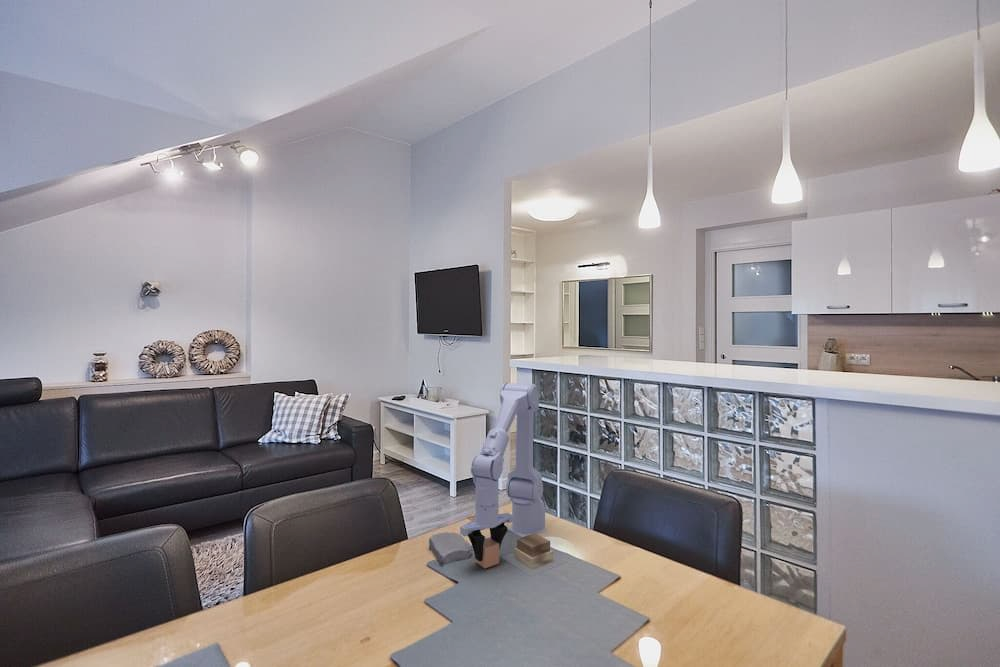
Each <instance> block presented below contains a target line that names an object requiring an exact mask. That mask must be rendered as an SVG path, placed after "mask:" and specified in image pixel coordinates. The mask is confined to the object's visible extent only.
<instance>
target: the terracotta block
mask: <svg viewBox="0 0 1000 667" xmlns="http://www.w3.org/2000/svg"><path fill="white" fill-rule="evenodd" d="M474 563H477V565H479V566H480V567H482V568H483V569H487V568H490V567H493V566H496V565H498V564H500V550H499V543H498V542H496V541H494V540H493V539H491V537H485V540H484V544H483V558H482V561H478V560H477V559H475V558H474Z"/></svg>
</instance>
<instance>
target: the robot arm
mask: <svg viewBox="0 0 1000 667" xmlns="http://www.w3.org/2000/svg"><path fill="white" fill-rule="evenodd" d="M499 401H500V405H501V406H500V408H499V409H500V410H499V412H498V416H497V419H496V422H495V426H494V428H492V429H490V430H488V433H487V435H486V438H485V440H484V442H483V445H482V448H481V450H480V453H479V454H478V455H475V456H474V457H473V459H472V462H471V467H470V474H471V476H472V480H473V481H472V482H473V484H474V485H475V518H473V520H470V521H468V523H465V524H462V525H460V528H459V530H460V531H459V534H460V535H461V536H462V537H463V538H464V537H468V539H469V542H470V543H471V544H470V545H471V547H472V550H473V553H474V560H475V559H477V560H478V561H482V558H483V544H484V540H485V539H486V536H485V535H484V534H482V532H481V531H484V530H486V529H487V530H488V529H489V532H490V538H491V539H493V540H494V541H496V542H498V543H499V551H501V546H502V543H503V540H504V538H505V536H506V534H507V533H508V531H511V532H512V533H514V534H515V535H517V536H519V537H520V538H521V537H524V536H527V535H530V534H534V533H536V534H538V533H540V532H542V531H546V530H547V529H548V528H547V527H546V506H545V503H544V501H543V500H542V497H543V493H544V486H543V485H544V484H543V476H542V473H540V472H539V471H538V470H537V469H536V468H535V467H534V466H533V465H534V464H533V463H534V459H533V458H534V423H535V422H534V419H535V418H534V414H535V412H538V411H539V406H540V392H539V389H538V387H537V385H536V384H535V383H517V382H516V383H515V382H507V381H506V382H504V383H503V384H502V385H501V387H500V391H499ZM515 418H516V432H515V433H516V441H515V443H516V444H515V467H514V468H513V469H511V470H510V471H509V472H508V473H507V480H506V484H505V492H506V495H507V497H508V498H509V501H510V502H511V503H512V504H511V505H512V507H511V512H512V513H509V512H505V513H499V479H500V477H501V476H502V473H503V469H504V467H503V466H504V460H505V458H504V454H505V452H506V449H507V446H508V444H509V441H510V436H509V434H508V432H509V430H510V429H511V426H512V424H513V422H514V420H515ZM507 523H508V524H511V525H510V526H507V525H505V524H507Z"/></svg>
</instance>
